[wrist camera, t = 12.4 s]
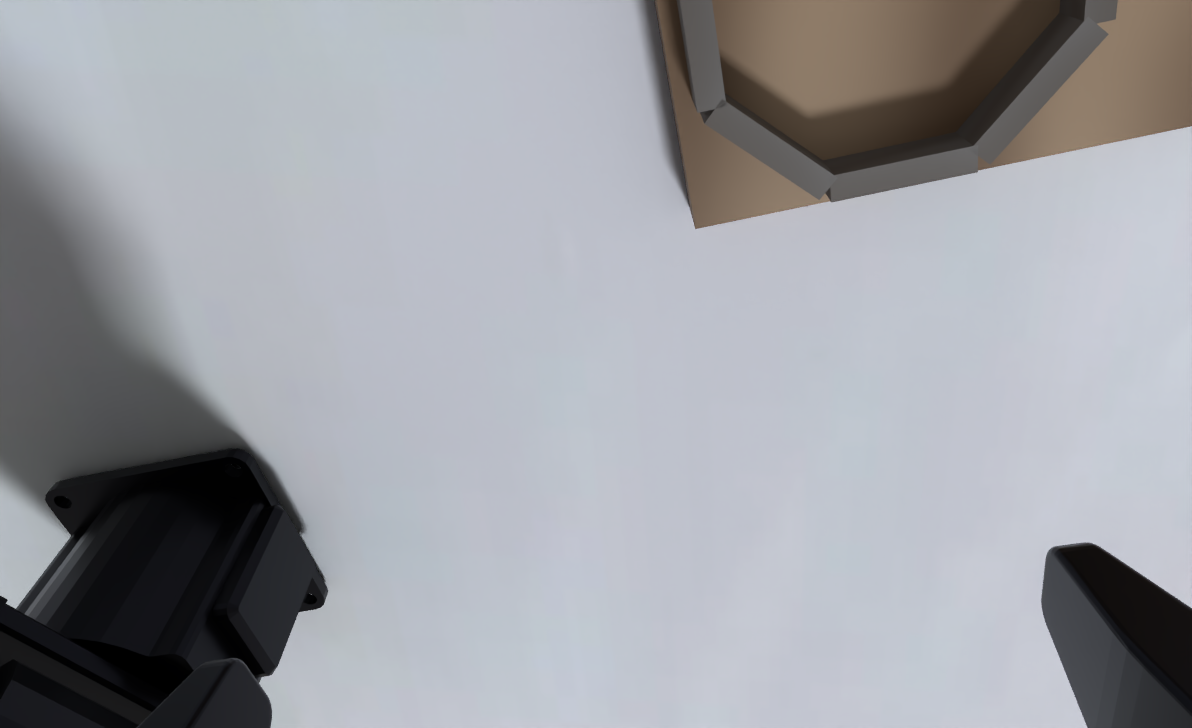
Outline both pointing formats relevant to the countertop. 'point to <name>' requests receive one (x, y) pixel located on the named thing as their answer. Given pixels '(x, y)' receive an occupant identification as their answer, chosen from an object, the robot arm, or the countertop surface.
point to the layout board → (907, 90)
